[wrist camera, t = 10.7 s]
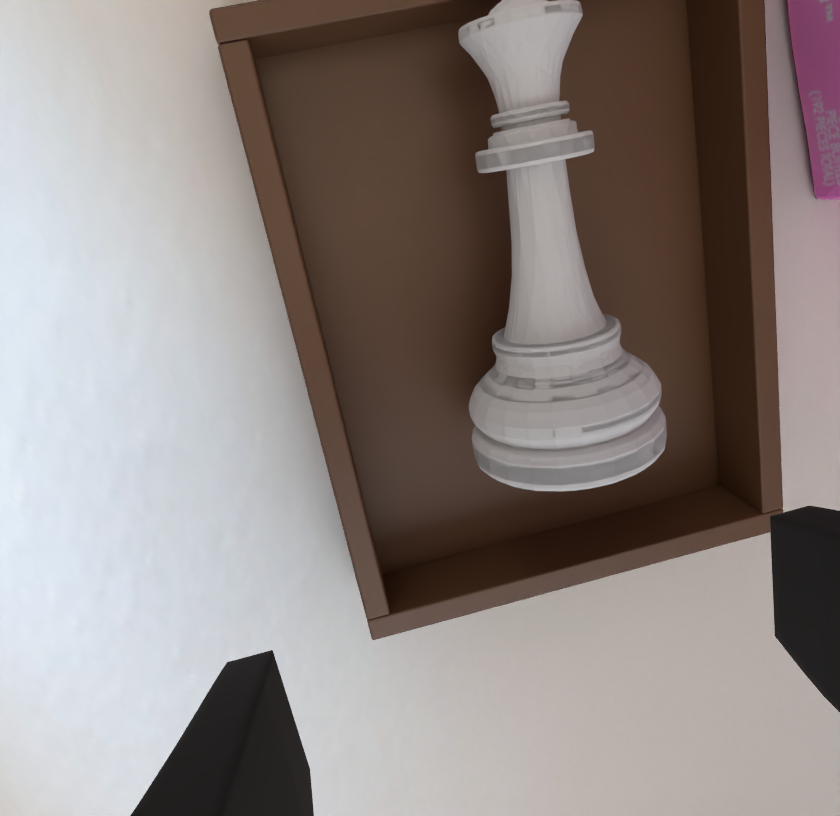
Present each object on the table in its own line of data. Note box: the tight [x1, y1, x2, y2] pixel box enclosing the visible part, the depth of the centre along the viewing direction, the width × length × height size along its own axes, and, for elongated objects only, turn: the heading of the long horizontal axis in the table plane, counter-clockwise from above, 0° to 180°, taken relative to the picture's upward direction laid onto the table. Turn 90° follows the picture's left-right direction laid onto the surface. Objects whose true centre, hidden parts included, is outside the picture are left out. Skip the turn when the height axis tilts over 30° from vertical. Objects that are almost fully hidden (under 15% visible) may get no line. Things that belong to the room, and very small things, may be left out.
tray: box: [209, 0, 783, 640], centre depth 17 cm, size 14×11×2 cm
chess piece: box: [458, 0, 667, 492], centre depth 14 cm, size 4×4×10 cm
